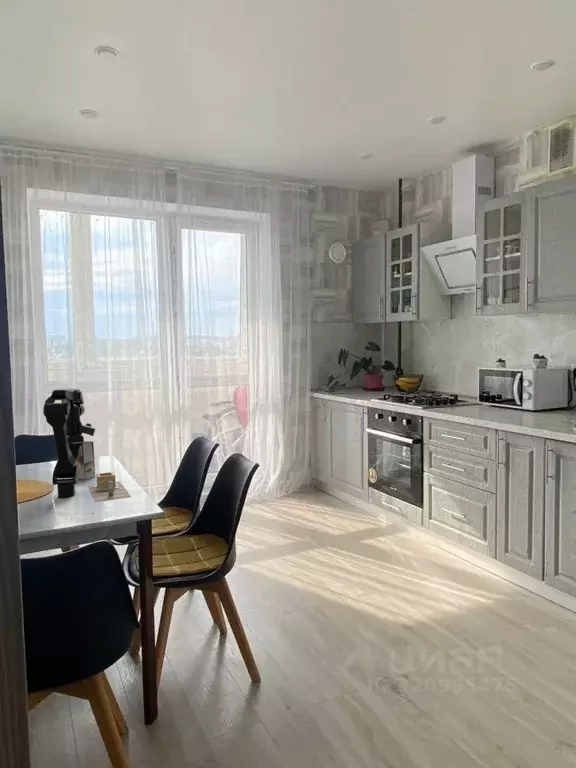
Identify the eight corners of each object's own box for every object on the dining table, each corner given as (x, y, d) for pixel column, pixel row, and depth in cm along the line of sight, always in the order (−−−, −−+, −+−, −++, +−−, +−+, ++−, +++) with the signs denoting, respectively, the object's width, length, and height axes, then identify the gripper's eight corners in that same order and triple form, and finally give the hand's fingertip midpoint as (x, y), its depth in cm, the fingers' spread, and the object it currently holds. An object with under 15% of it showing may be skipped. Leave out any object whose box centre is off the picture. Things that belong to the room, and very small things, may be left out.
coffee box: (96, 476, 256) (94, 441, 254) (85, 480, 250) (83, 443, 249) (81, 475, 260) (79, 440, 259) (70, 478, 254) (68, 442, 253)
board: (131, 500, 215) (130, 483, 214) (95, 505, 209) (94, 487, 209) (120, 484, 240) (119, 469, 239) (87, 488, 234) (86, 472, 234)
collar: (115, 487, 229) (115, 475, 229) (98, 489, 226) (98, 476, 226) (113, 483, 235) (112, 471, 235) (96, 485, 232) (96, 473, 232)
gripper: (96, 420, 229) (98, 458, 230) (90, 415, 245) (92, 451, 247) (66, 422, 224) (68, 461, 225) (63, 417, 241) (65, 454, 242)
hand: (74, 457), depth 235 cm, fingers open, 9 cm apart
